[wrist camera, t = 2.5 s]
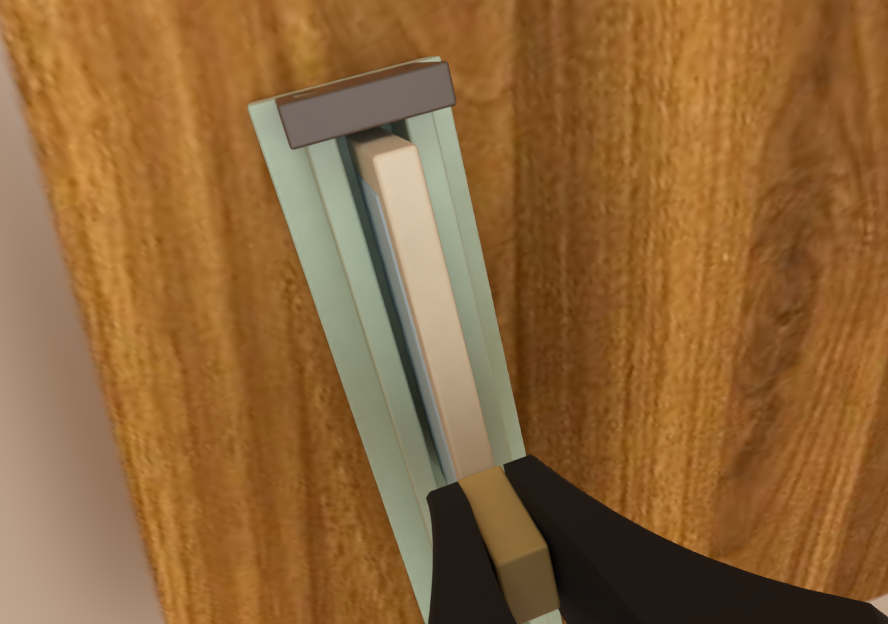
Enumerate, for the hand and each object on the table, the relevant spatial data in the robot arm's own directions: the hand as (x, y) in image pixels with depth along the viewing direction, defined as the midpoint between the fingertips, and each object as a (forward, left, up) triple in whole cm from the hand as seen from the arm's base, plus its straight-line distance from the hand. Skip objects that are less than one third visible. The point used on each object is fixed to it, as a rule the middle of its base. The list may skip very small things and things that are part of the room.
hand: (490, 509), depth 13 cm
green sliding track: (-2, 0, -6) cm, 6 cm away
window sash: (+3, 0, -4) cm, 5 cm away
